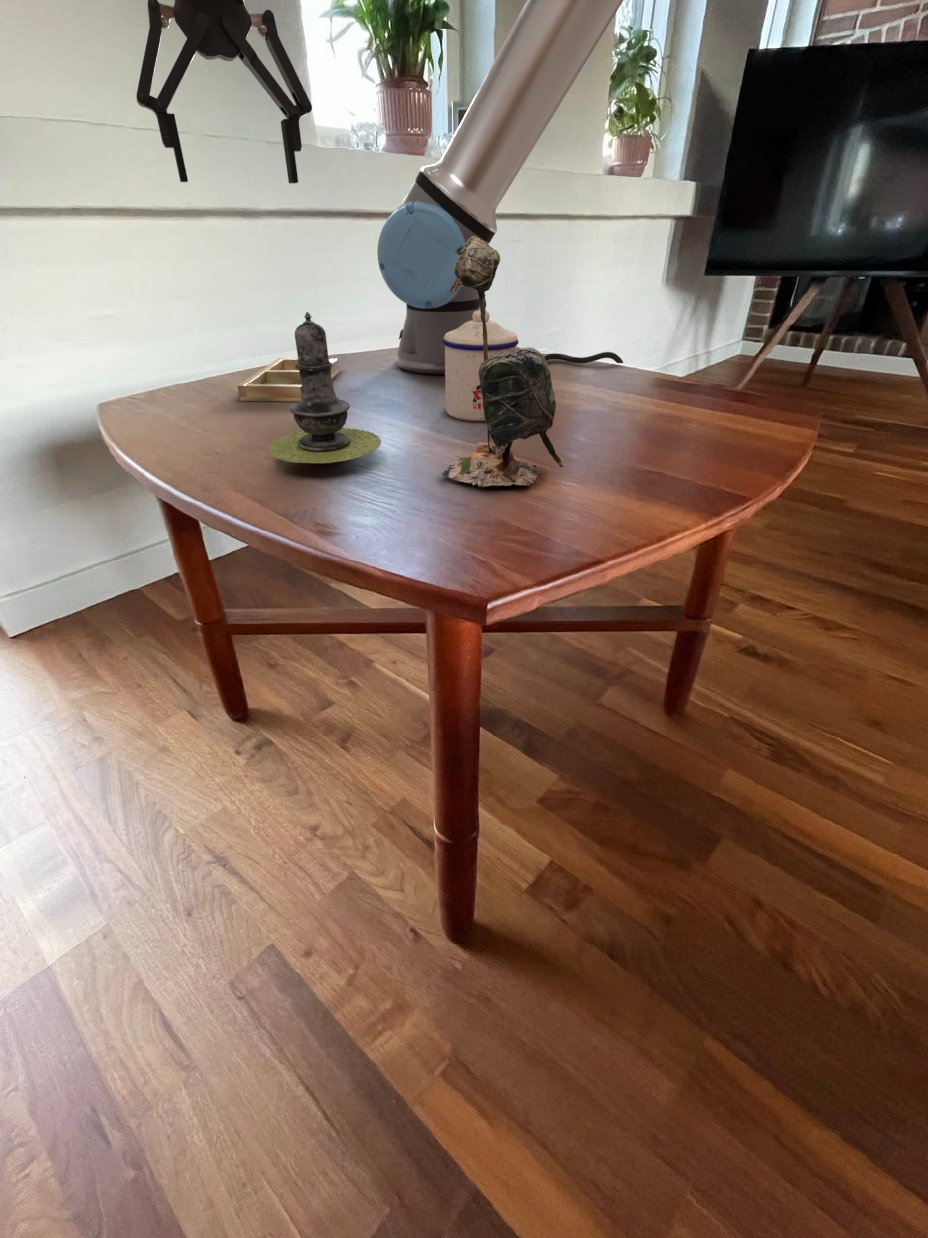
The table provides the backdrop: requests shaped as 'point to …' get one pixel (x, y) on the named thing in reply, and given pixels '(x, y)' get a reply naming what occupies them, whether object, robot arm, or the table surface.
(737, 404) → the table surface
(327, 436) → the salt shaker
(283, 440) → the mat
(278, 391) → the wooden divided tray
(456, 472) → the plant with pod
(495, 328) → the teacup with lid
